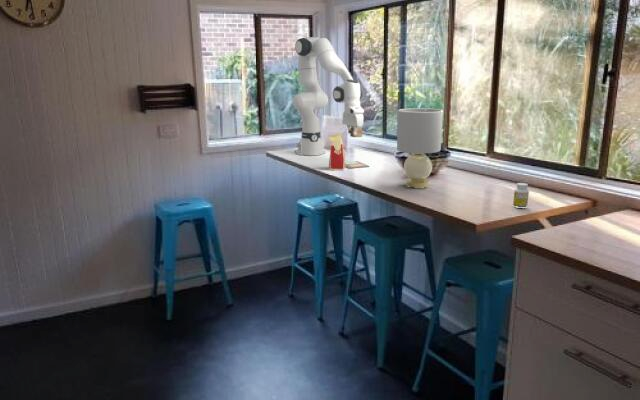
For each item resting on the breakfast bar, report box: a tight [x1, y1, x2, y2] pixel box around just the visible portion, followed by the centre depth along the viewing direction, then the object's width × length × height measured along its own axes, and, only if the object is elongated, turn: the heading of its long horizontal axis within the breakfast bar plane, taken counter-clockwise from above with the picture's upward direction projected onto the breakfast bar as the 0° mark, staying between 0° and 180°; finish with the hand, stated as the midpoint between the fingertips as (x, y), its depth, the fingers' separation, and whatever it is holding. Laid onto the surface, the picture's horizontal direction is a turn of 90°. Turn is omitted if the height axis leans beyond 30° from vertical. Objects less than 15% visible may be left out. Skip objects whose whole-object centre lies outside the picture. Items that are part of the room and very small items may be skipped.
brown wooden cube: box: [349, 126, 363, 138], centre depth 289 cm, size 5×5×5 cm
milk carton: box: [328, 132, 346, 172], centre depth 277 cm, size 9×9×20 cm
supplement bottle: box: [512, 182, 530, 207], centre depth 201 cm, size 5×5×10 cm
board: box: [345, 160, 370, 170], centre depth 288 cm, size 16×12×1 cm
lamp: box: [396, 107, 444, 189], centre depth 234 cm, size 20×20×35 cm
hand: (352, 133), depth 288 cm, fingers closed on brown wooden cube, 5 cm apart
